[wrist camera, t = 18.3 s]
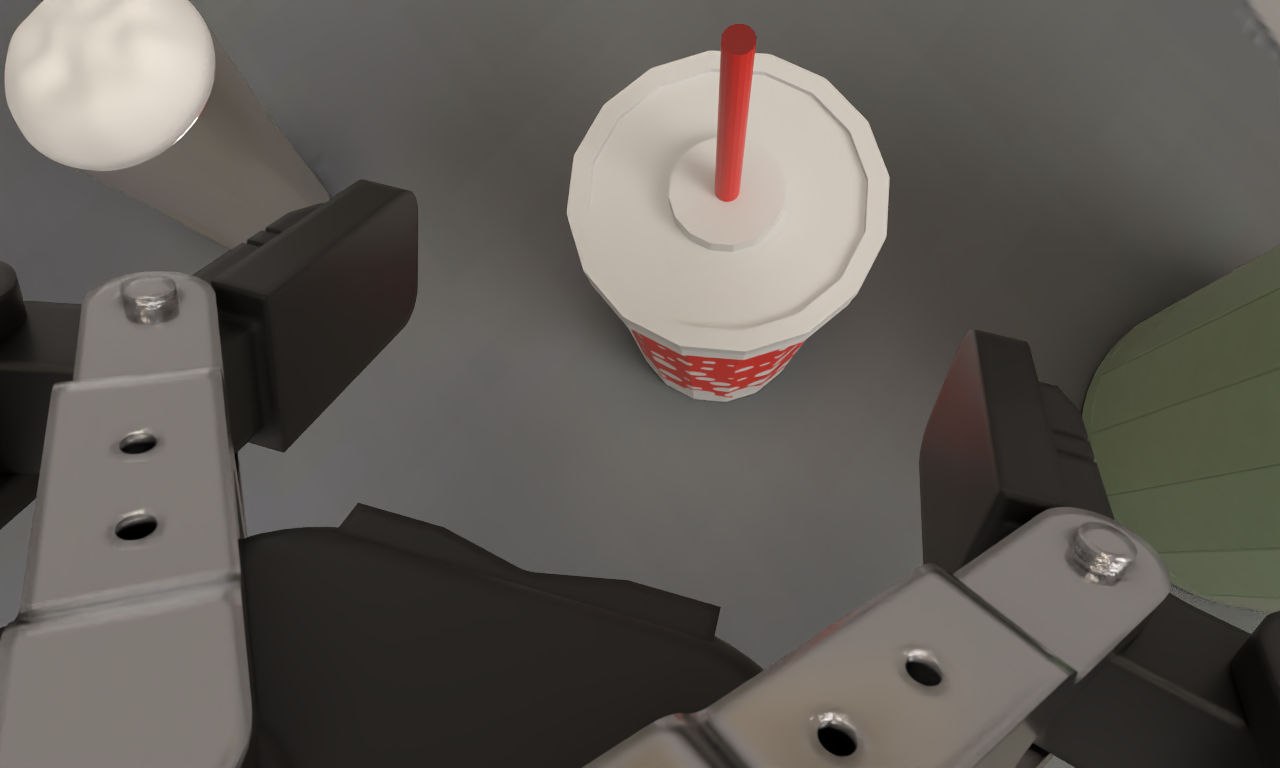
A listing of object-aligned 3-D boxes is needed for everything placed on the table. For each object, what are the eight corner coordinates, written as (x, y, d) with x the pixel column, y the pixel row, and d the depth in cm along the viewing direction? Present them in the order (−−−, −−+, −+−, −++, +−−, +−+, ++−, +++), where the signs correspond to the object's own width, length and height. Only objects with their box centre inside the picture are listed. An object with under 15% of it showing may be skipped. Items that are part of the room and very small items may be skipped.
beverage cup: (864, 365, 25) (1066, 117, 11) (673, 467, 25) (643, 340, 11) (757, 188, 26) (822, -226, 13) (574, 284, 26) (438, -32, 12)
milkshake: (286, 100, 28) (63, -152, 18) (382, 223, 27) (200, 24, 17) (167, 188, 28) (-125, -23, 18) (259, 315, 26) (1, 166, 17)
